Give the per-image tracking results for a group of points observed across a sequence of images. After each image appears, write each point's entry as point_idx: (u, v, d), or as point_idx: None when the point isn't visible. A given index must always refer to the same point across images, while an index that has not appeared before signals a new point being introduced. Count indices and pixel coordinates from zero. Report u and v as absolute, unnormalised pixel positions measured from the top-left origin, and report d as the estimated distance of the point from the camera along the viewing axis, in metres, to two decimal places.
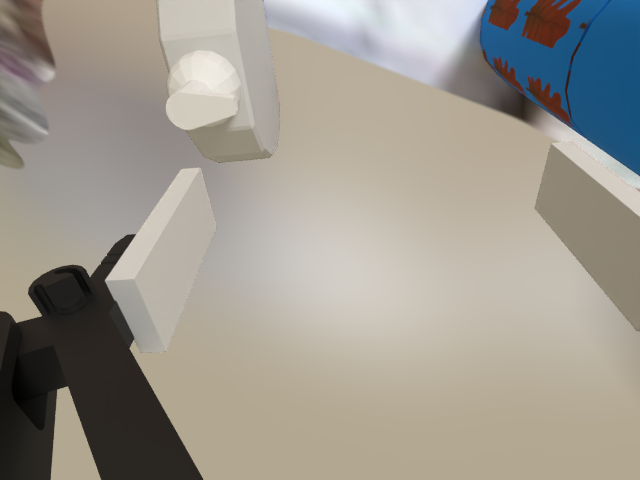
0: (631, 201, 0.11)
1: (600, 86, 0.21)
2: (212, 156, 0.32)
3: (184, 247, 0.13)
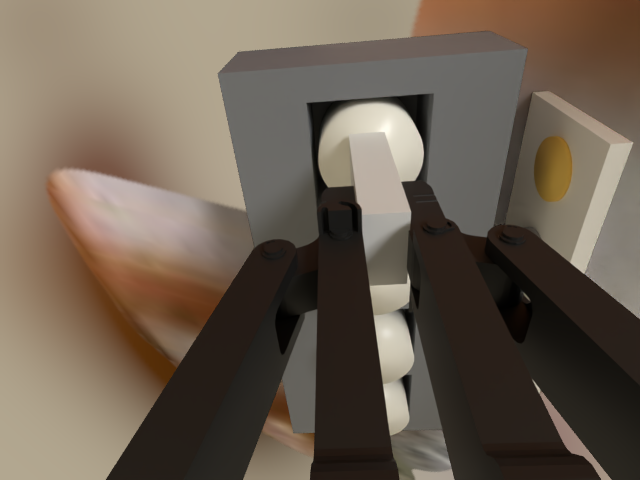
0: (384, 178, 0.13)
1: None
2: None
3: None
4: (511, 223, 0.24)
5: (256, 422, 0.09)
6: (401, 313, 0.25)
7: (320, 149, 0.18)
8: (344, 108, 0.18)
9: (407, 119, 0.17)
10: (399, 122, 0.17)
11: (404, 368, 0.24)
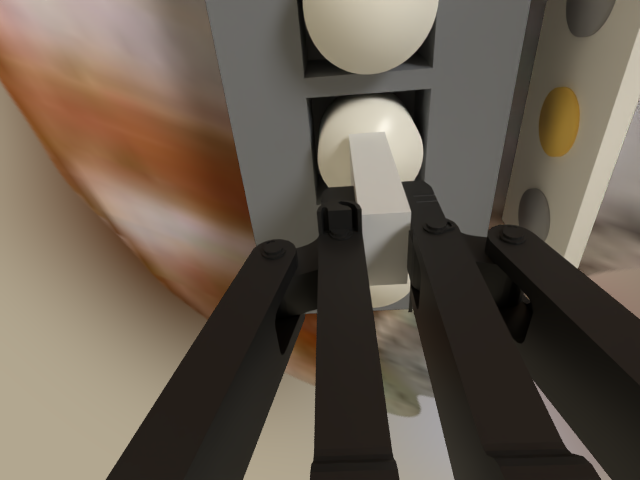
0: (384, 178, 0.13)
1: None
2: None
3: None
4: None
5: (256, 422, 0.09)
6: (406, 108, 0.19)
7: None
8: None
9: None
10: None
11: (410, 172, 0.18)
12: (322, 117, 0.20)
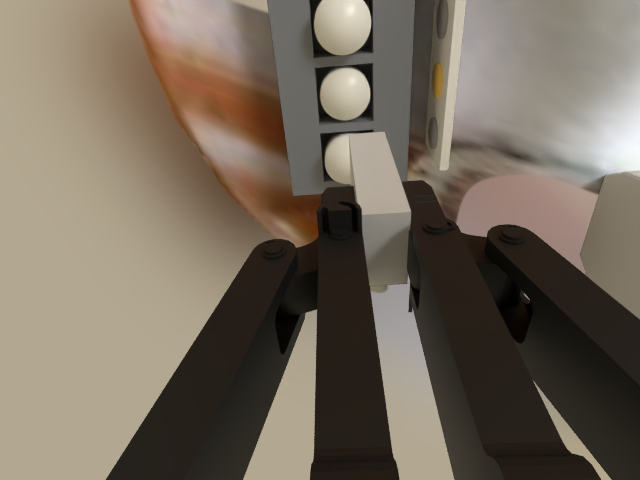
0: (384, 178, 0.13)
1: None
2: None
3: None
4: (435, 13, 0.37)
5: (256, 422, 0.09)
6: (363, 72, 0.39)
7: None
8: None
9: None
10: None
11: (364, 102, 0.38)
12: (322, 78, 0.39)
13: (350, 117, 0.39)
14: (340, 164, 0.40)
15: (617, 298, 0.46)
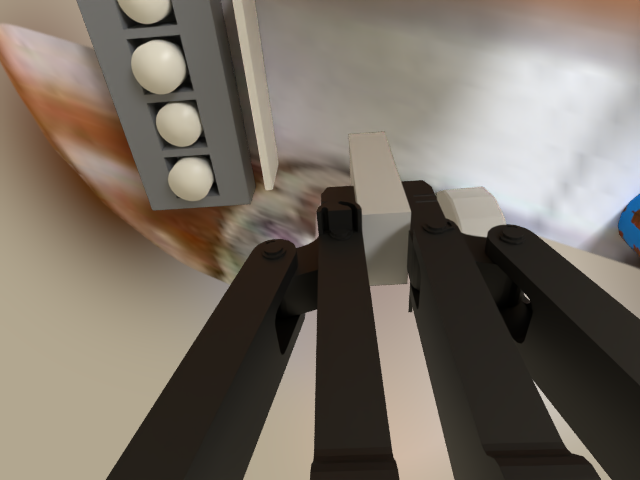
0: (384, 178, 0.13)
1: None
2: None
3: None
4: None
5: (256, 422, 0.09)
6: None
7: None
8: None
9: None
10: None
11: (196, 132, 0.44)
12: None
13: (186, 144, 0.45)
14: (182, 184, 0.46)
15: None
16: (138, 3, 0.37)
